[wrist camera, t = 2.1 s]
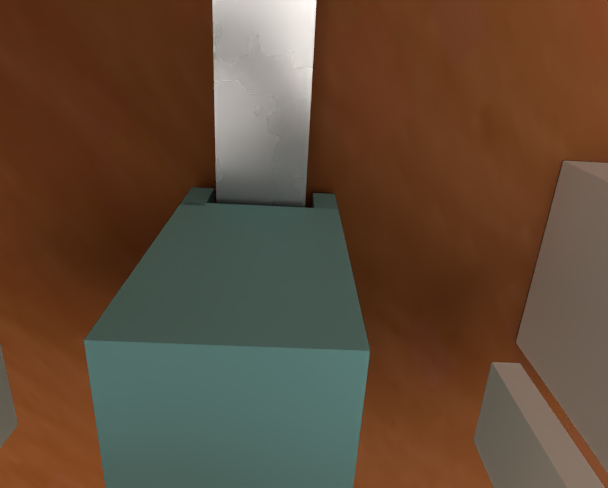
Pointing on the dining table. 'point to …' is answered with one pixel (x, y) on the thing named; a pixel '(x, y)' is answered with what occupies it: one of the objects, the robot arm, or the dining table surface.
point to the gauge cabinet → (573, 302)
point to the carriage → (233, 353)
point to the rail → (262, 100)
